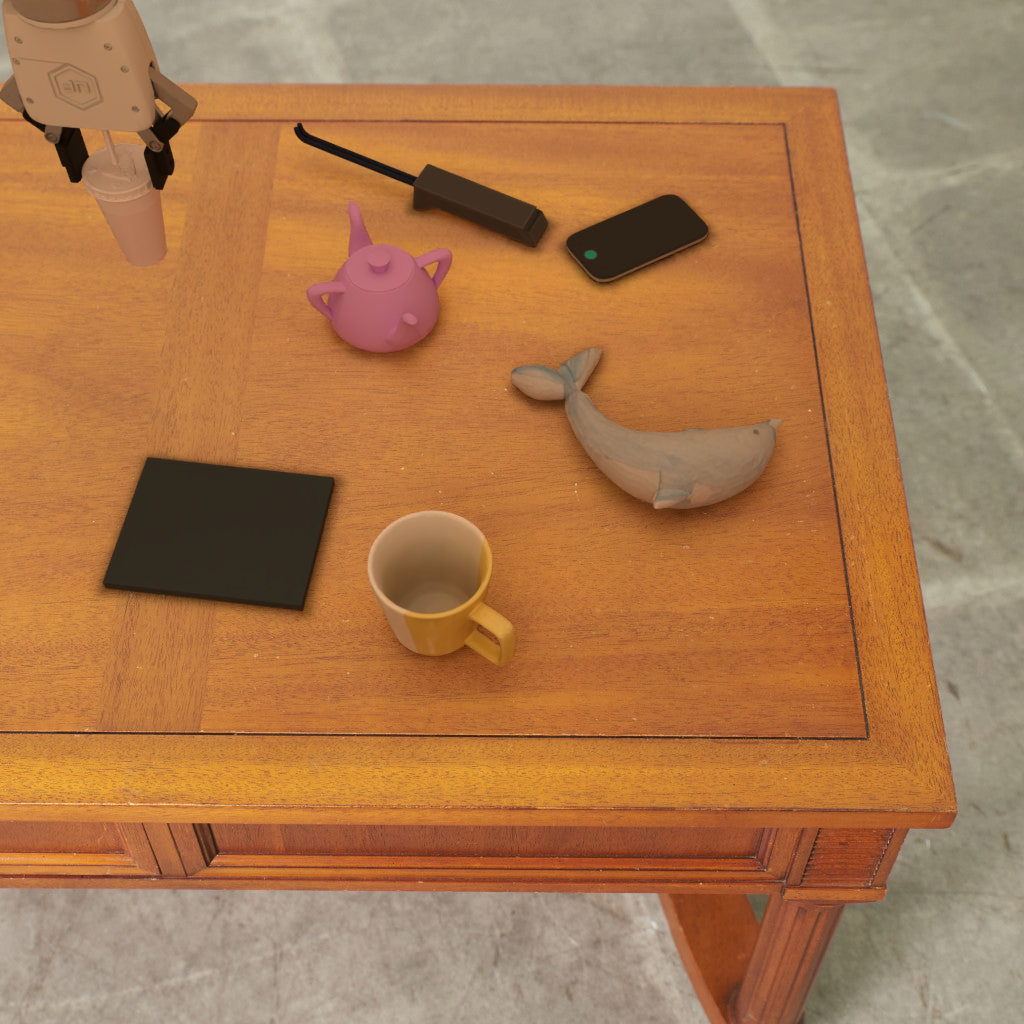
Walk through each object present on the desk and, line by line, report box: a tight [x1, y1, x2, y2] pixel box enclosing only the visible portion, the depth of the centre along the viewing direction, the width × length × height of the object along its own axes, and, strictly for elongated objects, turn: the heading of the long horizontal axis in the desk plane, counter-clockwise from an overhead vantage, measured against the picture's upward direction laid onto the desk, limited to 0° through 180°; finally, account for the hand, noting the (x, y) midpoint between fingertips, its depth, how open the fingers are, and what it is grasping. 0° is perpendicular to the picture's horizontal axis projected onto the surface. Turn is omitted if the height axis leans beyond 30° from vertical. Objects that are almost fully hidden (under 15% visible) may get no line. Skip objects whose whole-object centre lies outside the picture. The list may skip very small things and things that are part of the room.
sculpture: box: [509, 347, 784, 510], centre depth 123 cm, size 18×8×25 cm
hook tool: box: [293, 122, 549, 248], centre depth 141 cm, size 4×4×30 cm
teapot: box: [305, 200, 453, 354], centre depth 128 cm, size 12×14×9 cm
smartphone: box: [565, 194, 710, 283], centre depth 138 cm, size 8×1×15 cm
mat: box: [102, 456, 336, 612], centre depth 117 cm, size 18×14×1 cm
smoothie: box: [82, 130, 168, 268], centre depth 108 cm, size 6×6×14 cm
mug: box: [366, 510, 517, 668], centre depth 107 cm, size 14×10×10 cm
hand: (121, 173), depth 106 cm, fingers closed on smoothie, 6 cm apart
